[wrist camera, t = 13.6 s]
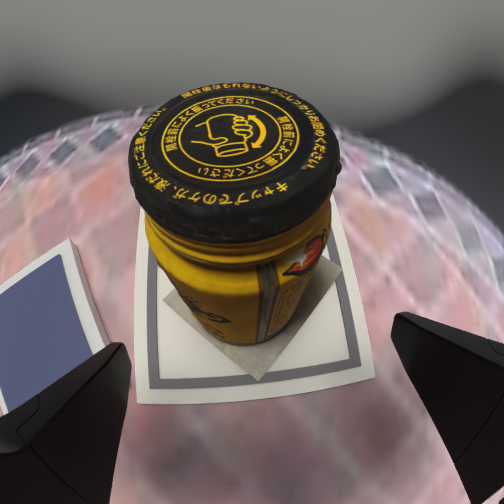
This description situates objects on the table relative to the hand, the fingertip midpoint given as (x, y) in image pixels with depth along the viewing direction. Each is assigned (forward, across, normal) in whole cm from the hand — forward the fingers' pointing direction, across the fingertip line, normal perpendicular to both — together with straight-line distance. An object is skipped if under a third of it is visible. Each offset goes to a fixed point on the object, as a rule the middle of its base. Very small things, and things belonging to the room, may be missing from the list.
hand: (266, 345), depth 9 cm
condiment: (+9, 0, +2) cm, 9 cm away
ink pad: (+7, +15, +5) cm, 17 cm away
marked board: (+9, 0, +2) cm, 9 cm away
